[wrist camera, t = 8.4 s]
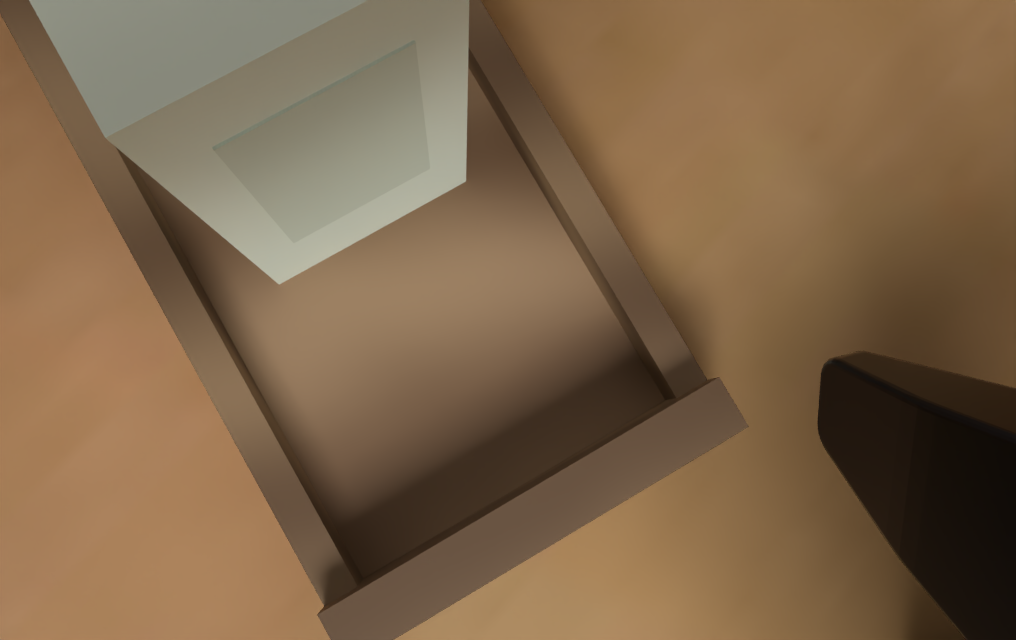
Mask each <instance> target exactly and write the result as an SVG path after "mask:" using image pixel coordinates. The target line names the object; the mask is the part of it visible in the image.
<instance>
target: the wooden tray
mask: <svg viewBox="0 0 1016 640" xmlns="http://www.w3.org/2000/svg"><path fill="white" fill-rule="evenodd" d="M0 14H1V16H2V18H3V19H4V21H5V23H6V25H7V27H8V28H9V30H10V32H11V34H12V36H13V38H14V39H15V41H16V43H17V45H18V47H19V49H20V50H21V52H22V54H23V56H24V58H25V60H26V61H27V63H28V65H29V67H30V69H31V71H32V72H33V74H34V76H35V78H36V80H37V82H38V83H39V85H40V87H41V89H42V91H43V93H44V94H45V96H46V98H47V100H48V102H49V103H50V105H51V107H52V109H53V111H54V113H55V114H56V116H57V118H58V120H59V122H60V124H61V125H62V127H63V129H64V131H65V133H66V135H67V136H68V138H69V140H70V142H71V144H72V146H73V147H74V149H75V151H76V153H77V155H78V157H79V158H80V160H81V162H82V164H83V166H84V168H85V169H86V171H87V173H88V175H89V177H90V178H91V180H92V182H93V184H94V186H95V188H96V189H97V191H98V193H99V195H100V197H101V199H102V200H103V202H104V204H105V206H106V208H107V210H108V211H109V213H110V215H111V217H112V219H113V221H114V222H115V224H116V226H117V228H118V230H119V232H120V233H121V235H122V237H123V239H124V241H125V242H126V244H127V246H128V248H129V250H130V252H131V253H132V255H133V257H134V259H135V261H136V263H137V264H138V266H139V268H140V270H141V272H142V274H143V275H144V277H145V279H146V281H147V283H148V285H149V286H150V288H151V290H152V292H153V294H154V296H155V297H156V299H157V301H158V303H159V305H160V307H161V308H162V310H163V312H164V314H165V316H166V317H167V319H168V321H169V323H170V325H171V327H172V328H173V330H174V332H175V334H176V336H177V338H178V339H179V341H180V343H181V345H182V347H183V349H184V350H185V352H186V354H187V356H188V358H189V360H190V361H191V363H192V365H193V367H194V369H195V371H196V372H197V374H198V376H199V378H200V380H201V382H202V383H203V385H204V387H205V389H206V391H207V392H208V394H209V396H210V398H211V400H212V402H213V403H214V405H215V407H216V409H217V411H218V413H219V414H220V416H221V418H222V420H223V422H224V424H225V425H226V427H227V429H228V431H229V433H230V435H231V436H232V438H233V440H234V442H235V444H236V446H237V447H238V449H239V451H240V453H241V455H242V456H243V458H244V460H245V462H246V464H247V466H248V467H249V469H250V471H251V473H252V475H253V477H254V478H255V480H256V482H257V484H258V486H259V488H260V489H261V491H262V493H263V495H264V497H265V499H266V500H267V502H268V504H269V506H270V508H271V510H272V511H273V513H274V515H275V517H276V519H277V521H278V522H279V524H280V526H281V528H282V530H283V531H284V533H285V535H286V537H287V539H288V541H289V542H290V544H291V546H292V548H293V550H294V552H295V553H296V555H297V557H298V559H299V561H300V563H301V564H302V566H303V568H304V570H305V572H306V574H307V575H308V577H309V579H310V581H311V583H312V585H313V586H314V588H315V590H316V592H317V594H318V596H319V597H320V599H321V601H322V603H323V605H324V607H323V609H322V610H321V611H320V612H319V613H318V617H319V619H320V621H321V622H322V624H323V626H324V628H325V630H326V632H327V633H328V635H329V637H330V639H331V640H394V639H396V638H397V637H399V636H401V635H402V634H404V633H406V632H407V631H409V630H411V629H412V628H414V627H416V626H417V625H419V624H421V623H422V622H424V621H426V620H427V619H429V618H431V617H432V616H434V615H436V614H437V613H439V612H441V611H442V610H444V609H446V608H447V607H449V606H451V605H452V604H454V603H456V602H457V601H459V600H461V599H462V598H464V597H466V596H467V595H469V594H471V593H472V592H474V591H476V590H477V589H479V588H481V587H482V586H484V585H486V584H487V583H489V582H491V581H492V580H494V579H496V578H497V577H499V576H501V575H502V574H504V573H506V572H507V571H509V570H511V569H512V568H514V567H516V566H517V565H519V564H521V563H522V562H524V561H526V560H527V559H529V558H531V557H532V556H534V555H536V554H537V553H539V552H541V551H542V550H544V549H546V548H547V547H549V546H551V545H552V544H554V543H556V542H557V541H559V540H561V539H562V538H564V537H566V536H567V535H569V534H571V533H572V532H574V531H576V530H577V529H579V528H581V527H582V526H584V525H586V524H587V523H589V522H591V521H592V520H594V519H596V518H597V517H599V516H601V515H602V514H604V513H606V512H607V511H609V510H611V509H612V508H614V507H616V506H617V505H619V504H621V503H622V502H624V501H626V500H627V499H629V498H631V497H632V496H634V495H636V494H637V493H639V492H641V491H642V490H644V489H646V488H647V487H649V486H651V485H652V484H654V483H656V482H657V481H659V480H661V479H662V478H664V477H666V476H667V475H669V474H671V473H672V472H674V471H676V470H677V469H679V468H681V467H682V466H684V465H686V464H687V463H689V462H691V461H692V460H694V459H696V458H697V457H699V456H701V455H702V454H704V453H706V452H707V451H709V450H711V449H712V448H714V447H716V446H717V445H719V444H721V443H722V442H724V441H726V440H727V439H729V438H731V437H732V436H734V435H736V434H737V433H739V432H741V431H742V430H744V429H746V428H747V427H749V426H748V425H747V423H746V421H745V420H744V418H743V416H742V415H741V413H740V411H739V410H738V408H737V406H736V404H735V403H734V401H733V399H732V398H731V396H730V394H729V393H728V391H727V389H726V388H725V386H724V384H723V383H722V381H721V379H720V378H719V377H718V378H714V379H709V380H707V379H706V377H705V376H704V374H703V372H702V370H701V369H700V367H699V365H698V364H697V362H696V360H695V359H694V357H693V355H692V354H691V352H690V350H689V349H688V347H687V345H686V344H685V342H684V340H683V339H682V337H681V335H680V334H679V332H678V330H677V329H676V327H675V325H674V324H673V322H672V320H671V319H670V317H669V315H668V313H667V312H666V310H665V308H664V307H663V305H662V303H661V302H660V300H659V298H658V297H657V295H656V293H655V292H654V290H653V288H652V287H651V285H650V283H649V282H648V280H647V278H646V277H645V275H644V273H643V272H642V270H641V268H640V267H639V265H638V263H637V262H636V260H635V258H634V256H633V255H632V253H631V251H630V250H629V248H628V246H627V245H626V243H625V241H624V240H623V238H622V236H621V235H620V233H619V231H618V230H617V228H616V226H615V225H614V223H613V221H612V220H611V218H610V216H609V215H608V213H607V211H606V210H605V208H604V206H603V205H602V203H601V201H600V199H599V198H598V196H597V194H596V193H595V191H594V189H593V188H592V186H591V184H590V183H589V181H588V179H587V178H586V176H585V174H584V173H583V171H582V169H581V168H580V166H579V164H578V163H577V161H576V159H575V158H574V156H573V154H572V153H571V151H570V149H569V148H568V146H567V144H566V142H565V141H564V139H563V137H562V136H561V134H560V132H559V131H558V129H557V127H556V126H555V124H554V122H553V121H552V119H551V117H550V116H549V114H548V112H547V111H546V109H545V107H544V106H543V104H542V102H541V101H540V99H539V97H538V96H537V94H536V92H535V91H534V89H533V87H532V85H531V84H530V82H529V80H528V79H527V77H526V75H525V74H524V72H523V70H522V69H521V67H520V65H519V64H518V62H517V60H516V59H515V57H514V55H513V54H512V52H511V50H510V49H509V47H508V45H507V44H506V42H505V40H504V39H503V37H502V35H501V34H500V32H499V30H498V28H497V27H496V25H495V23H494V22H493V20H492V18H491V17H490V15H489V13H488V12H487V10H486V8H485V7H484V5H483V3H482V2H481V0H469V47H468V102H467V158H466V182H464V183H462V184H461V185H459V186H457V187H455V188H453V189H452V190H450V191H448V192H446V193H444V194H442V195H441V196H439V197H437V198H435V199H433V200H432V201H430V202H428V203H426V204H424V205H423V206H421V207H419V208H417V209H415V210H413V211H412V212H410V213H408V214H406V215H404V216H403V217H401V218H399V219H397V220H395V221H394V222H392V223H390V224H388V225H386V226H384V227H383V228H381V229H379V230H377V231H375V232H374V233H372V234H370V235H368V236H366V237H365V238H363V239H361V240H359V241H357V242H355V243H354V244H352V245H350V246H348V247H346V248H345V249H343V250H341V251H339V252H337V253H336V254H334V255H332V256H330V257H328V258H327V259H325V260H323V261H321V262H319V263H317V264H316V265H314V266H312V267H310V268H308V269H307V270H305V271H303V272H301V273H299V274H298V275H296V276H294V277H292V278H290V279H288V280H287V281H285V282H283V283H281V284H278V283H277V282H275V281H274V280H273V279H272V278H271V277H269V276H268V275H267V274H266V273H265V272H264V271H262V270H261V269H260V268H259V267H258V266H256V265H255V264H254V263H253V262H252V261H251V260H249V259H248V258H247V257H246V256H245V255H243V254H242V253H241V252H240V251H239V250H237V249H236V248H235V247H234V246H233V245H232V244H230V243H229V242H228V241H227V240H226V239H224V238H223V237H222V236H221V235H220V234H219V233H217V232H216V231H215V230H214V229H213V228H211V227H210V226H209V225H208V224H207V223H205V222H204V221H203V220H202V219H201V218H200V217H198V216H197V215H196V214H195V213H194V212H192V211H191V210H190V209H189V208H188V207H187V206H185V205H184V204H183V203H182V202H181V201H179V200H178V199H177V198H176V197H175V196H173V195H172V194H171V193H170V192H169V191H168V190H166V189H165V188H164V187H163V186H162V185H160V184H159V183H158V182H157V181H156V180H155V179H153V178H152V177H151V176H150V175H149V174H147V173H146V172H145V171H144V170H143V169H141V168H140V167H139V166H138V165H137V164H136V163H134V162H133V161H132V160H131V159H130V158H128V157H127V156H126V155H125V154H124V153H122V152H121V151H120V150H119V149H118V148H117V147H115V146H114V145H113V144H112V143H111V142H109V141H108V140H107V139H106V138H105V137H104V135H103V133H102V131H101V129H100V128H99V126H98V124H97V122H96V120H95V119H94V117H93V115H92V113H91V111H90V110H89V108H88V106H87V104H86V102H85V101H84V99H83V97H82V95H81V93H80V92H79V90H78V88H77V86H76V84H75V82H74V81H73V79H72V77H71V75H70V73H69V72H68V70H67V68H66V66H65V64H64V63H63V61H62V59H61V57H60V55H59V54H58V52H57V50H56V48H55V46H54V45H53V43H52V41H51V39H50V37H49V35H48V34H47V32H46V30H45V28H44V26H43V25H42V23H41V21H40V19H39V17H38V16H37V14H36V12H35V10H34V8H33V7H32V5H31V3H30V1H29V0H0Z"/></svg>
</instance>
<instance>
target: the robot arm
mask: <svg viewBox="0 0 1016 640" xmlns="http://www.w3.org/2000/svg"><path fill="white" fill-rule="evenodd" d="M818 432H819V436H820V439H821V442H822V444H823V446H824V448H825V450H826V451H827V453H828V454H829V456H830V457H831V459H832V460H833V462H834V463H835V465H836V466H837V468H838V469H839V471H840V472H841V474H842V475H843V477H844V478H845V480H846V481H847V483H848V484H849V486H850V487H851V489H852V490H853V492H854V493H855V495H856V496H857V498H858V499H859V501H860V502H861V504H862V505H863V507H864V508H865V510H866V511H867V513H868V514H869V516H870V517H871V519H872V520H873V522H874V523H875V524H876V526H877V527H878V529H879V530H880V532H881V533H882V535H883V536H884V538H885V539H886V541H887V542H888V544H889V545H890V546H891V548H892V549H893V551H894V552H895V553H896V555H897V556H898V558H899V559H900V560H901V561H902V563H903V564H904V565H905V566H906V568H907V569H908V570H909V572H910V573H911V574H912V575H913V577H914V578H915V579H916V580H917V581H918V583H919V584H920V585H921V586H922V587H923V589H924V590H925V591H926V592H927V593H928V595H929V596H930V597H931V598H932V599H933V601H934V602H935V603H936V604H937V605H938V607H939V608H940V609H941V610H942V611H943V613H944V614H945V615H946V616H947V617H948V619H949V620H950V621H951V622H952V624H953V625H954V626H955V627H956V628H957V630H958V631H959V632H960V633H961V634H962V636H963V637H964V638H965V639H966V640H1016V388H1012V387H1008V386H1004V385H1000V384H996V383H992V382H988V381H984V380H979V379H975V378H971V377H967V376H963V375H959V374H955V373H951V372H947V371H943V370H939V369H935V368H931V367H927V366H923V365H919V364H915V363H911V362H907V361H903V360H899V359H895V358H891V357H886V356H882V355H878V354H874V353H870V352H866V351H857V352H853V353H849V354H845V355H841V356H838V357H834V358H830V359H829V360H828V361H827V362H826V363H825V364H824V366H823V368H822V372H821V382H820V396H819V410H818Z"/></svg>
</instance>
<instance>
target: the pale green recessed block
mask: <svg viewBox="0 0 1016 640" xmlns="http://www.w3.org/2000/svg"><path fill="white" fill-rule="evenodd" d="M29 1H30V3H31V5H32V7H33V8H34V10H35V12H36V14H37V16H38V17H39V19H40V21H41V23H42V25H43V26H44V28H45V30H46V32H47V34H48V35H49V37H50V39H51V41H52V43H53V45H54V46H55V48H56V50H57V52H58V54H59V55H60V57H61V59H62V61H63V63H64V64H65V66H66V68H67V70H68V72H69V73H70V75H71V77H72V79H73V81H74V82H75V84H76V86H77V88H78V90H79V92H80V93H81V95H82V97H83V99H84V101H85V102H86V104H87V106H88V108H89V110H90V111H91V113H92V115H93V117H94V119H95V120H96V122H97V124H98V126H99V128H100V129H101V131H102V133H103V135H104V137H105V138H106V139H107V140H108V141H109V142H111V143H112V144H113V145H114V146H115V147H117V148H118V149H119V150H120V151H121V152H122V153H124V154H125V155H126V156H127V157H128V158H130V159H131V160H132V161H133V162H134V163H136V164H137V165H138V166H139V167H140V168H141V169H143V170H144V171H145V172H146V173H147V174H149V175H150V176H151V177H152V178H153V179H155V180H156V181H157V182H158V183H159V184H160V185H162V186H163V187H164V188H165V189H166V190H168V191H169V192H170V193H171V194H172V195H173V196H175V197H176V198H177V199H178V200H179V201H181V202H182V203H183V204H184V205H185V206H187V207H188V208H189V209H190V210H191V211H192V212H194V213H195V214H196V215H197V216H198V217H200V218H201V219H202V220H203V221H204V222H205V223H207V224H208V225H209V226H210V227H211V228H213V229H214V230H215V231H216V232H217V233H219V234H220V235H221V236H222V237H223V238H224V239H226V240H227V241H228V242H229V243H230V244H232V245H233V246H234V247H235V248H236V249H237V250H239V251H240V252H241V253H242V254H243V255H245V256H246V257H247V258H248V259H249V260H251V261H252V262H253V263H254V264H255V265H256V266H258V267H259V268H260V269H261V270H262V271H264V272H265V273H266V274H267V275H268V276H269V277H271V278H272V279H273V280H274V281H275V282H277V283H278V284H281V283H283V282H285V281H287V280H288V279H290V278H292V277H294V276H296V275H298V274H299V273H301V272H303V271H305V270H307V269H308V268H310V267H312V266H314V265H316V264H317V263H319V262H321V261H323V260H325V259H327V258H328V257H330V256H332V255H334V254H336V253H337V252H339V251H341V250H343V249H345V248H346V247H348V246H350V245H352V244H354V243H355V242H357V241H359V240H361V239H363V238H365V237H366V236H368V235H370V234H372V233H374V232H375V231H377V230H379V229H381V228H383V227H384V226H386V225H388V224H390V223H392V222H394V221H395V220H397V219H399V218H401V217H403V216H404V215H406V214H408V213H410V212H412V211H413V210H415V209H417V208H419V207H421V206H423V205H424V204H426V203H428V202H430V201H432V200H433V199H435V198H437V197H439V196H441V195H442V194H444V193H446V192H448V191H450V190H452V189H453V188H455V187H457V186H459V185H461V184H462V183H464V182H466V158H467V102H468V47H469V0H29Z"/></svg>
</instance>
